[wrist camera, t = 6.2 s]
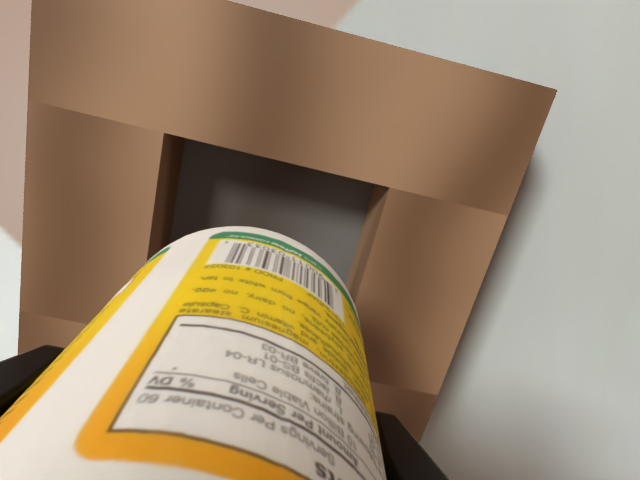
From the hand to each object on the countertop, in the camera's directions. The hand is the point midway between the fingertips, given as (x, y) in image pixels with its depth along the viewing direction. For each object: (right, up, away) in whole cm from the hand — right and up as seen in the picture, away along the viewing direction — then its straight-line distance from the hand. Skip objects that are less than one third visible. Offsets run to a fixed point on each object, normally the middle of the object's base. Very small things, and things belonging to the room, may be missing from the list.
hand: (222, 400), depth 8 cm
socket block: (0, +3, +9) cm, 10 cm away
